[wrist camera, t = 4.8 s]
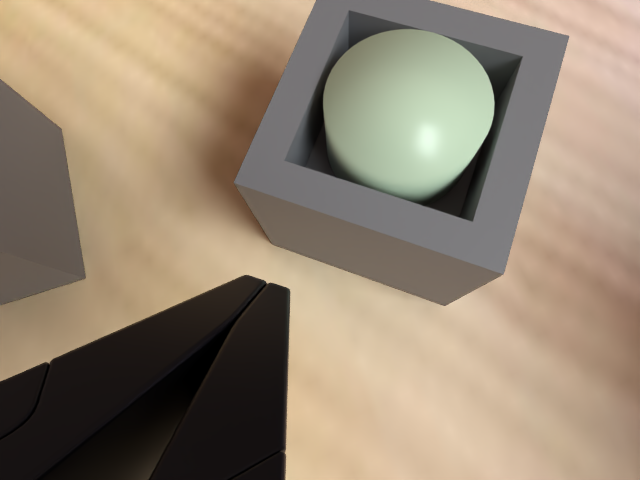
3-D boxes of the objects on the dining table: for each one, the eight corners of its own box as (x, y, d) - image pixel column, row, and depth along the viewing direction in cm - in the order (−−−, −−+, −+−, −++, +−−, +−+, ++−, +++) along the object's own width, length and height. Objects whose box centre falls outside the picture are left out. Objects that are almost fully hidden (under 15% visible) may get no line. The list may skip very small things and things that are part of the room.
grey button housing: (445, 305, 21) (503, 274, 13) (272, 244, 22) (233, 182, 14) (493, 144, 23) (569, 36, 15) (333, 97, 24) (327, -26, 16)
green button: (446, 229, 16) (467, 201, 13) (306, 183, 17) (298, 147, 14) (485, 104, 17) (513, 53, 15) (354, 66, 18) (355, 11, 15)
